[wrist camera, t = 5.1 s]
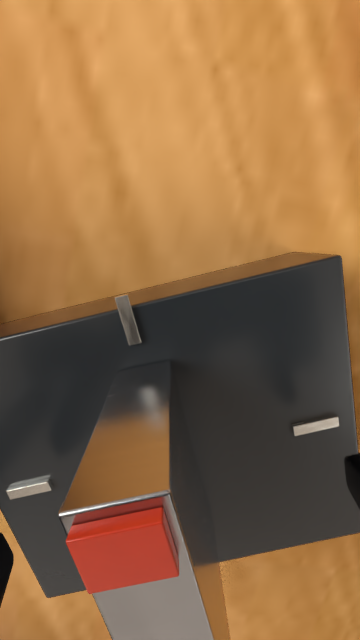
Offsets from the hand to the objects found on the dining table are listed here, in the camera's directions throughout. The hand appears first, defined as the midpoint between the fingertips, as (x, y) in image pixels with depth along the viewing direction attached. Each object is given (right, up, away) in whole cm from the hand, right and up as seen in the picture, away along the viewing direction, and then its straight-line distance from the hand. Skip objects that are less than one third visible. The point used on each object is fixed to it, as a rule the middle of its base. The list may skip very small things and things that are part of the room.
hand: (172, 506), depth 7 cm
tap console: (0, +1, +5) cm, 5 cm away
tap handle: (0, 0, +2) cm, 2 cm away
